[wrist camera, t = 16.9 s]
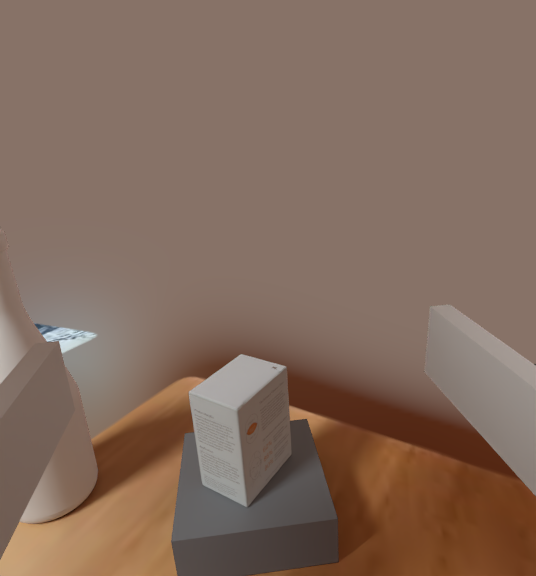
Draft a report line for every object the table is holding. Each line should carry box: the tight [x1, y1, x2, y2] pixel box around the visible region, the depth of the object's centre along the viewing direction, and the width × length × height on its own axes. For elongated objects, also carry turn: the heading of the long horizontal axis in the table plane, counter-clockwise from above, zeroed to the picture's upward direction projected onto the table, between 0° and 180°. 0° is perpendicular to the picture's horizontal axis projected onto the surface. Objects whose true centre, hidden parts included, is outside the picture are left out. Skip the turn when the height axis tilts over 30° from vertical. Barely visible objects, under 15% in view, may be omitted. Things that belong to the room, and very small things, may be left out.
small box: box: [189, 354, 292, 507], centre depth 41 cm, size 8×6×10 cm
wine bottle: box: [0, 228, 98, 524], centre depth 43 cm, size 10×10×30 cm
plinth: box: [171, 419, 339, 576], centre depth 43 cm, size 14×14×5 cm
